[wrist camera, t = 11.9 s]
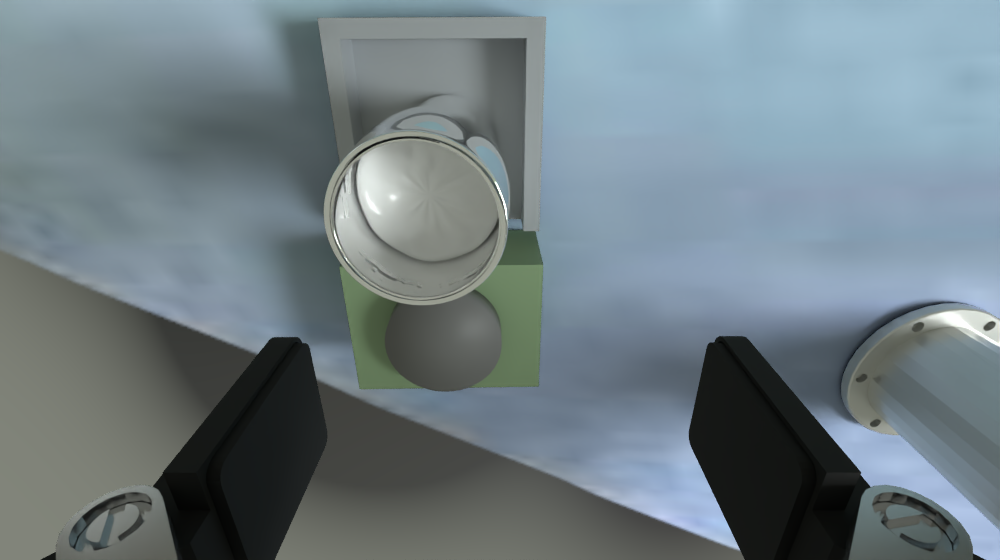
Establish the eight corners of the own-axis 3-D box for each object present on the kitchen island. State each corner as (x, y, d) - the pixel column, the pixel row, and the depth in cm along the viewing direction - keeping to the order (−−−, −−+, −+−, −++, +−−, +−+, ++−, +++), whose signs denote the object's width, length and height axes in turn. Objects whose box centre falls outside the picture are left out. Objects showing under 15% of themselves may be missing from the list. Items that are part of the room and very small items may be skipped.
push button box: (540, 19, 28) (556, 11, 21) (531, 337, 38) (540, 402, 31) (334, 20, 28) (283, 12, 21) (378, 339, 38) (353, 405, 31)
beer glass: (406, 204, 32) (346, 320, 19) (382, 94, 29) (289, 139, 16) (509, 191, 32) (523, 300, 18) (496, 79, 29) (501, 110, 15)
